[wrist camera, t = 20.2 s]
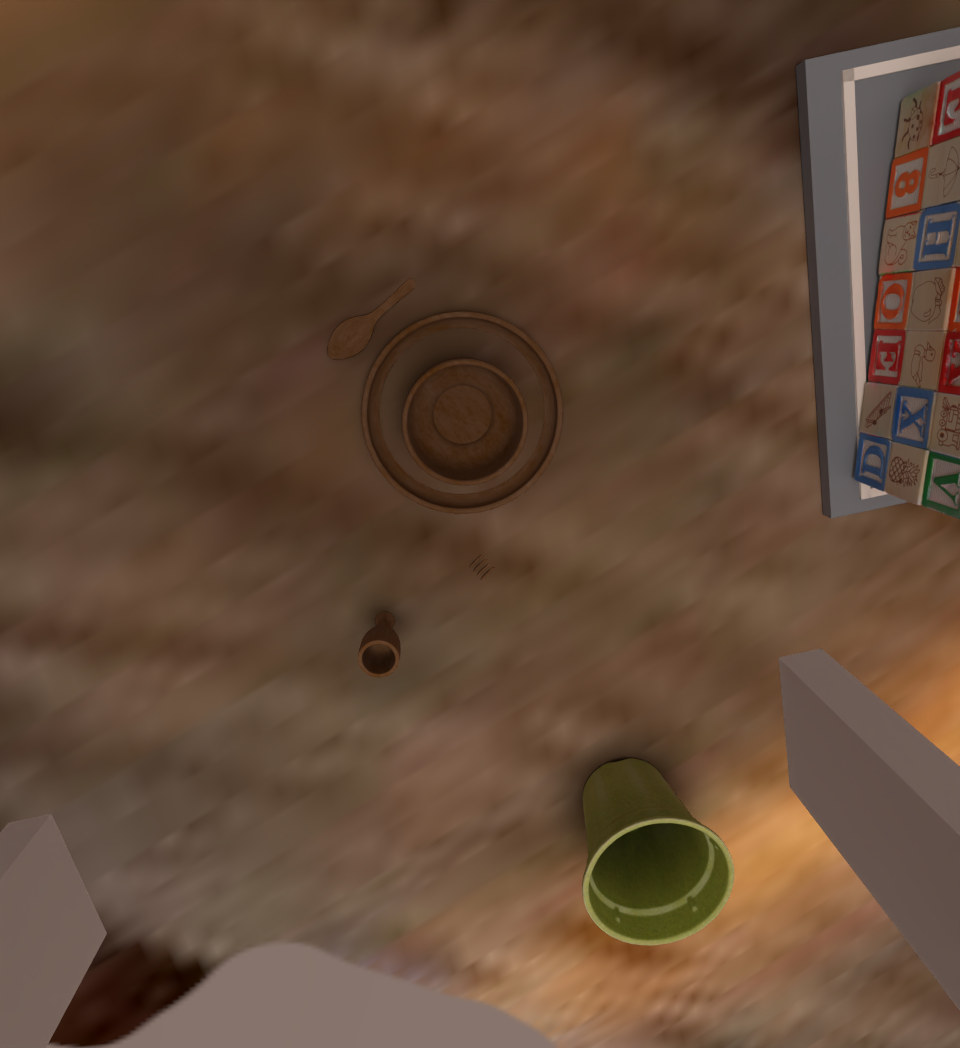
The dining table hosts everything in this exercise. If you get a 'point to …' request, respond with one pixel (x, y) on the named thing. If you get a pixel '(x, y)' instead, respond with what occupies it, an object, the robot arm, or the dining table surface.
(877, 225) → the blueprint baseplate
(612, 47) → the dining table surface
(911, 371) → the stack of blocks
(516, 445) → the place setting
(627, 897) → the plant pot
